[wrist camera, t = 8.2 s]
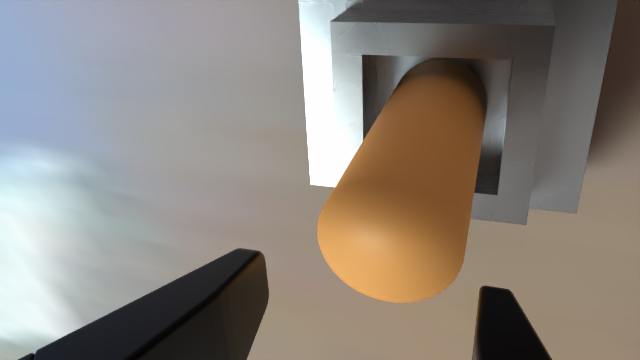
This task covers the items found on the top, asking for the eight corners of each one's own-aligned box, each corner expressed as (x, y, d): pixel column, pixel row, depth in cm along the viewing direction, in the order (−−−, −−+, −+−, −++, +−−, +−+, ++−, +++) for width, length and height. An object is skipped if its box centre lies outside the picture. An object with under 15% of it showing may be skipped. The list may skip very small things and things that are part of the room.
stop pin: (491, 61, 14) (470, 185, 9) (483, 151, 16) (459, 313, 10) (393, 57, 15) (313, 170, 9) (392, 143, 16) (321, 290, 11)
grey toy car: (631, -228, 14) (690, -286, 9) (560, 180, 20) (573, 284, 15) (338, -197, 17) (256, -230, 12) (348, 159, 22) (296, 244, 17)
